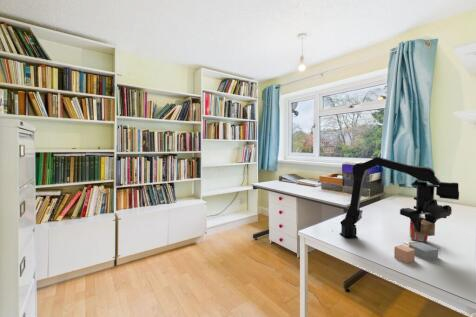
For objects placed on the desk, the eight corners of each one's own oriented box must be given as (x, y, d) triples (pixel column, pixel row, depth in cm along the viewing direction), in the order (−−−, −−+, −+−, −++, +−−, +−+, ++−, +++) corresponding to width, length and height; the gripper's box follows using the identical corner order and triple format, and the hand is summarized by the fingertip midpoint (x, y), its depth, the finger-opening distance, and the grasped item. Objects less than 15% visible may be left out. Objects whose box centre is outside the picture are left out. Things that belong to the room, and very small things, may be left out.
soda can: (418, 237, 113) (420, 214, 113) (431, 242, 106) (432, 218, 106) (405, 236, 113) (407, 214, 113) (417, 242, 106) (418, 218, 106)
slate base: (425, 260, 91) (425, 251, 91) (408, 252, 98) (409, 244, 98) (437, 258, 93) (438, 249, 93) (420, 250, 100) (421, 242, 100)
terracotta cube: (406, 263, 89) (407, 251, 89) (394, 257, 94) (394, 246, 94) (414, 261, 91) (414, 249, 91) (401, 255, 96) (402, 244, 95)
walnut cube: (424, 236, 92) (424, 224, 92) (413, 231, 97) (413, 220, 97) (434, 235, 93) (435, 224, 92) (423, 230, 98) (423, 220, 97)
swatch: (416, 249, 100) (416, 248, 100) (403, 242, 107) (403, 241, 107) (430, 248, 101) (430, 247, 101) (416, 241, 108) (416, 240, 108)
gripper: (423, 202, 85) (421, 240, 86) (465, 199, 87) (463, 237, 88) (399, 195, 96) (398, 229, 97) (437, 193, 98) (435, 227, 99)
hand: (423, 231), depth 95 cm, fingers closed on walnut cube, 5 cm apart
